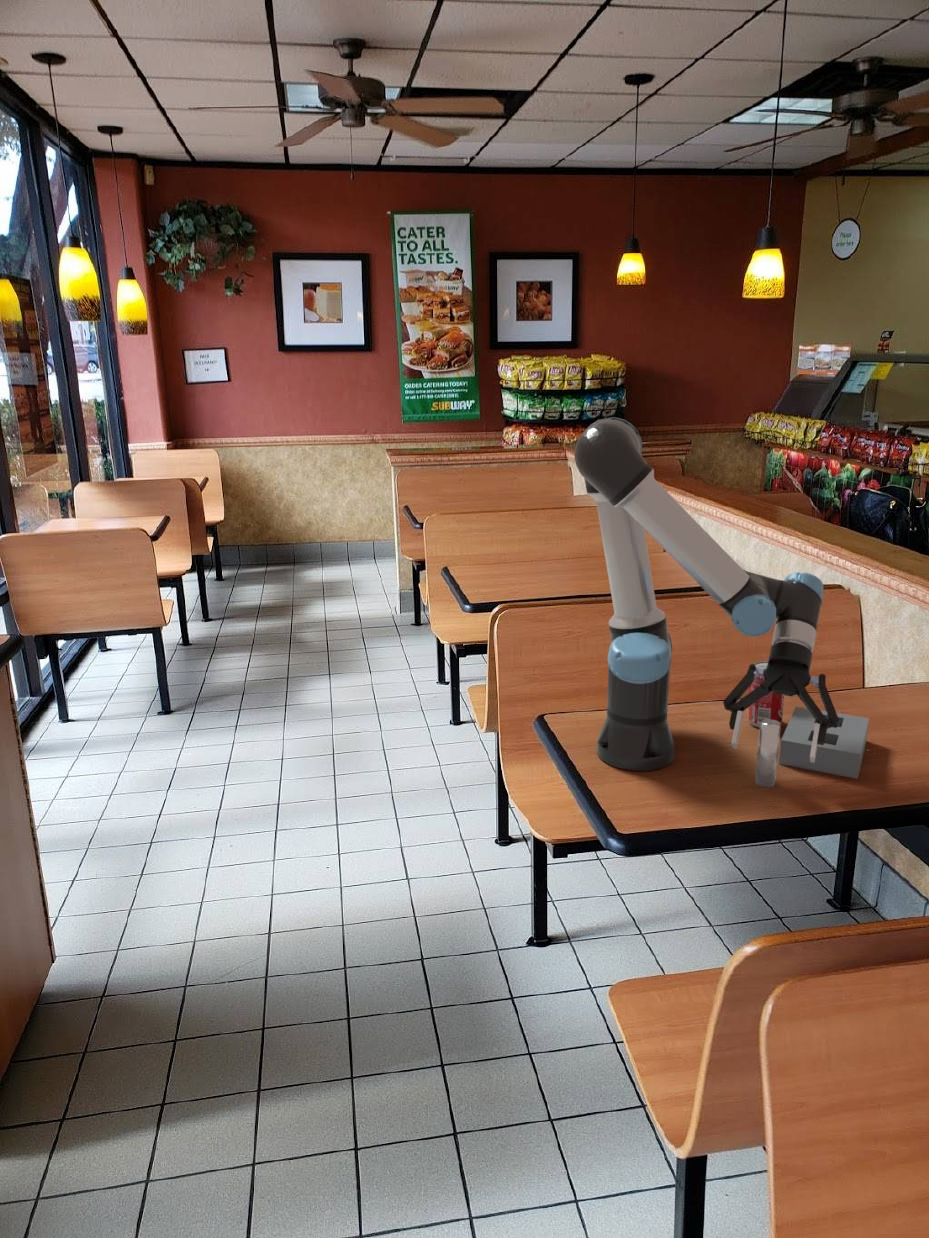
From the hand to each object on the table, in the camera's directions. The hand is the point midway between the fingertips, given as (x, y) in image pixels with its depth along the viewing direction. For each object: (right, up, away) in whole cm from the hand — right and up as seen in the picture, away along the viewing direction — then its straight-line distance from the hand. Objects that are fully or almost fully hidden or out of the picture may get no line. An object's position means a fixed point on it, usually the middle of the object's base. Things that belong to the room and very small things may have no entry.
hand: (772, 752), depth 159 cm
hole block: (+15, -2, +14) cm, 21 cm away
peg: (0, -6, +3) cm, 7 cm away
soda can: (+8, +2, +28) cm, 29 cm away
